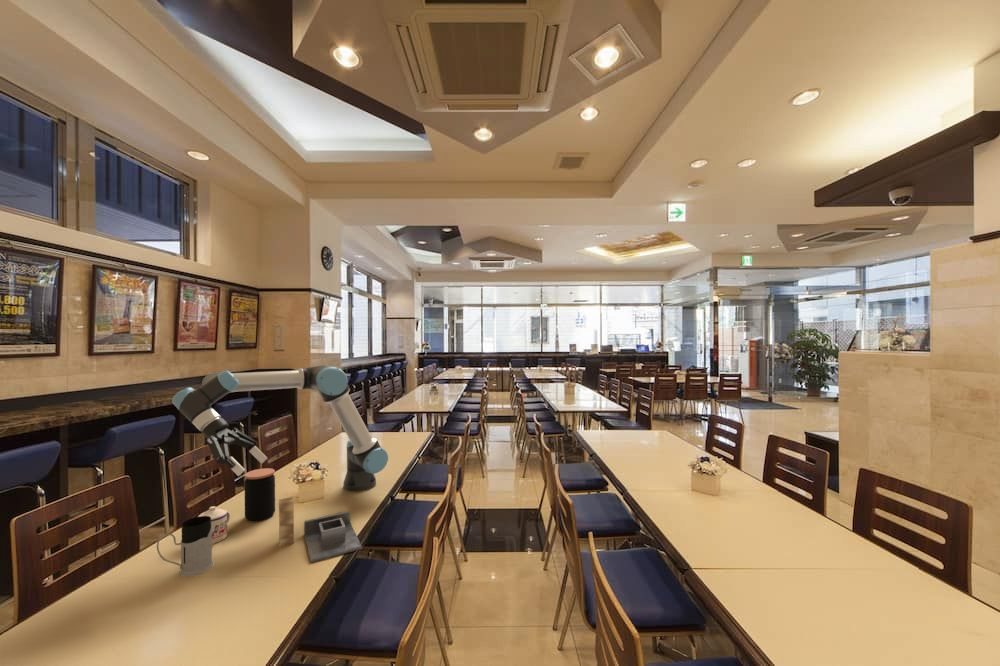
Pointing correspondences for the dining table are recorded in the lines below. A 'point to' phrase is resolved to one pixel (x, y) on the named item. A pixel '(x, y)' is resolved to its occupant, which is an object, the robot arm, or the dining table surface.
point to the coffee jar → (259, 494)
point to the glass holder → (194, 546)
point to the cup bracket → (330, 536)
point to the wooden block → (286, 521)
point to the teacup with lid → (218, 523)
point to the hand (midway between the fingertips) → (253, 466)
